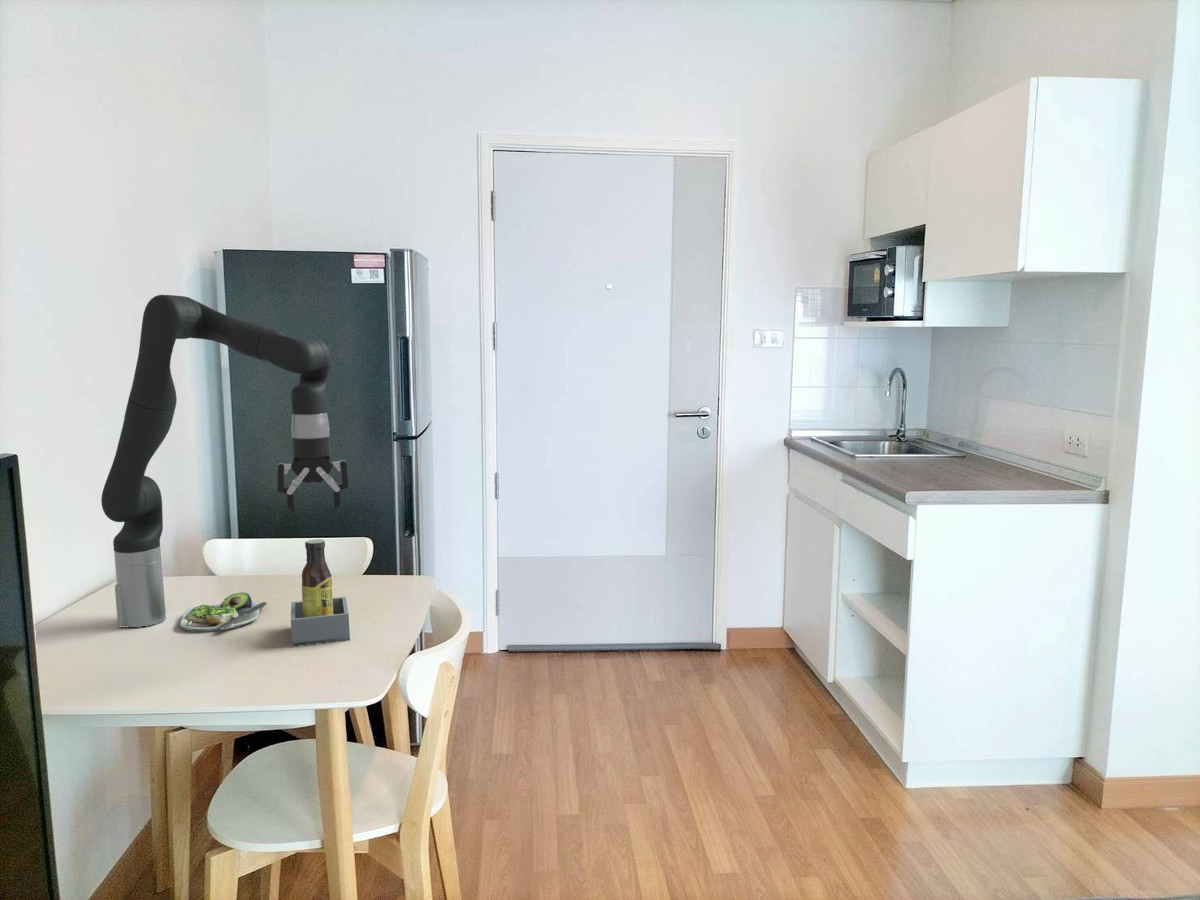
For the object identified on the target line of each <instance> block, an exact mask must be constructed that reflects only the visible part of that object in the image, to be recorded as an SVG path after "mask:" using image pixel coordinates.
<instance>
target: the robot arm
mask: <svg viewBox="0 0 1200 900" xmlns="http://www.w3.org/2000/svg"><path fill="white" fill-rule="evenodd" d="M144 308H145V309H144V311H143V315H142V316H143V317H142V321H141V330H140V339H139V347H138V348H139V349H138V355H137V359H136V360H137V361H136V365H135V370H134V376H133V380H132V385H131V388H130V392H129V396H128V399H127V405H126V408H125V413H124V419H123V422H122V428H121V431H120V436H119V439H118V442H117V447H116V451H115V455H114V458H113V461H112V464H111V467H110V470H109V472H108V475H107V478H106V480H105V483H104V486H103V489H102V493H101V499H100V501H101V508H102V511H103V513H104V515H105V516H106V517H107V518H108V519H109V520H110V521H112V522H116V523H123V526H122V528H121V530H120V531H119V532H118V533H117V534H116V535H115V536H114V538H113V541H112V543H113V545H112V546H113V552H114V553H113V555H114V567H115V577H116V578H115V579H116V584H115V585H114V594H115V605H116V617H117V627H118V626H128V627H138V628H143V627H142V626H146V627H149V626H148V625H151V626H154V625H157V624H160V623H162V622H164V621H165V620H166V619H165V618H167V613H166V611H167V609H166V602H165V587H164V575H163V565H162V562H163V561H162V551H161V536H162V534H163V531H164V530H163V527H164V521H163V518H164V517H163V514H164V513H163V499H162V498H163V497H162V493H161V489H160V487H159V485H158V484H157V482H156V480H154V479H153V478H151V477H150V476H147V475H145V473H146V470H147V467H148V465H149V463H150V461H151V459H152V458H153V456H154V455H155V453H156V452H157V451H158V449H159V448H160V446H161V445H162V444H163V442H164V441H165V438H166V437H167V435H168V433H169V431H170V430H171V426H172V423H173V419H174V416H175V410H176V406H177V401H178V400H177V399H178V398H177V391H176V387H175V384H174V380H173V377H172V376H173V375H172V372H171V359H172V356H173V355H172V354H173V351H174V346H175V344H176V340H187V339H196V340H197V339H198V340H207V341H212V342H215V343H219V344H222V345H224V346H226V347H228V348H230V349H231V350H233V351H235V352H237V353H239V354H241V355H244V356H246V357H251V358H253V359H255V360H260V361H263V362H267V363H271V364H272V365H273V366H276V367H277V368H280V369H282V370H284V371H286V372H289V373H294V374H299V375H300V377H299V382H298V384H296V385H295V386H294V387H293V388H292V389H291V393H290V398H291V399H290V400H291V413H292V414H291V423H290V425H291V426H290V427H291V431H290V432H291V440H292V441H291V442H292V462H291V463H283V462H279V463H278V464H277V492H278V493H283V494H285V495H286V498H287V501H286V503H287V508H288V510H291V513H295V512H296V504H295V501H296V500H295V493H294V492H295V491H296V490H297V488H298V487H299V486H300V484H301V483H302V482H303V483H305V484H310V483H321V482H323V481H325V482H326V484H327V485H328V486H329V487H330V488H331V489H332V504H333V510H338V507H340V506H341V492H342V490H346V489H348V488H349V480H348V479H349V478H348V469H347V462H346V460H345V459H341V460H338V461H336V460H335V461H333V460H332V459H331V442H330V440H331V439H330V438H331V437H330V422H329V417H328V403H327V390H328V385H329V382H330V381H329V380H330V374H331V369H332V357H331V352H330V349H329V348H328V346H327V345H326V343H325V342H324V341H322V340H320V339H316V338H315V339H314V338H310V339H309V338H307V339H306V338H305V339H300V338H294V337H289V336H286V335H285V333H283V332H281V331H280V330H278V329H275V328H271V327H269V326H265V325H262V324H257V323H254V322H251V321H247V320H242V319H240V318H235V317H233V316H229V315H226V314H224V313H222V312H219V311H218V310H216V309H213V308H211V307H209V306H207V305H205V304H203V303H201V302H199V301H197V300H196V299H193V298H191V297H188V296H183V295H172V294H157V295H155V296H153V297H151V299H150V300H149V301H148V302H147V304H146V306H145V307H144ZM334 467H335V468H336V470H337V471H338V472H340V477H341V482H340V483H337V482H336V481H335V479H334V478H333V477H332V476H331V474H330V472H331V471H332V470H333V468H334ZM289 470H292V472H293V473H294V474H295V475H296V476H295V477H294V479H293V480H292V481H291V483H290V485H288V486H285V475H287V474H288V473H289ZM164 619H165V620H164ZM163 620H164V621H163ZM159 622H160V623H159ZM153 624H154V625H153ZM128 627H127V628H128Z"/></svg>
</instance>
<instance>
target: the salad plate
mask: <svg viewBox="0 0 1200 900" xmlns="http://www.w3.org/2000/svg"><path fill="white" fill-rule="evenodd" d="M266 605H267V602H266V601H262V602H260V603H258V602H255V601H253V600H252V598H251V596H250V594H249V593H247V592H236V593H232V594H230V595H228V596H227V597H225V598H224V600H223V601H222V602H221V603H217V604H214V603H213V604H204V603H203V604H201V605H199V606H195V607H192V608H190V609H188V610H186V611H185V612H184V613H183V614H182V617H181V620H180V624H179V626H180V628H182V629H184V630H186V631H189V632H191V631H192V633H212V631H213V632H221V631H222V632H223V631H224V630H225V631H229V630H233V628H234V629H237V628H240V626H241V627H244V626H246V625H248V624H251V623H252V622H253V623H254V622H255V620H257V618H258V617H259V612H260V611H261V610H262V609H263V608H264V607H265V606H266ZM190 621H196V622H195V623H201V622H208V623H207V624H209V626H205V627H198V626H193V625H192V626H193V627H192V626H191V625H190V624H189V623H190ZM210 625H211V626H212V627H211V626H210ZM243 625H244V626H243Z"/></svg>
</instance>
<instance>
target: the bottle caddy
mask: <svg viewBox="0 0 1200 900" xmlns="http://www.w3.org/2000/svg"><path fill="white" fill-rule="evenodd" d="M290 605H291V606H290V627H291V628H290V631H291V632H290V633H291V646H297V647H299V646H298V645H305V646H308V645H307V644H313V645H317V644H316V643H322V644H327V643H326V642H330V643H336V641H339V642H347V641H351V637H350V636H351V635H350V613H349V608H348V602H347V596H340V597H333V615H324V616H315V617H306V618H303V603H302V600H300V601H291V603H290ZM346 640H347V641H346Z"/></svg>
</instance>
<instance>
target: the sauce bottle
mask: <svg viewBox="0 0 1200 900" xmlns="http://www.w3.org/2000/svg"><path fill="white" fill-rule="evenodd" d="M325 542H326V541H325V540H324V539H320V538H319V539H318V538H317V539H309V540H306V541H305V542H304V545H305V546H304V547H305V550H306V560H305V561H306V563H305V565H304V566H303V569H302V572H301V598H302V600H301V601H302V603H303V618H306V617H315V616H324V615H333V598H334V597H333V579H332V577H333V575H332V573H331V571H330V568H329V566H328V563H327V561H326V557H325V548H326V543H325Z"/></svg>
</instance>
